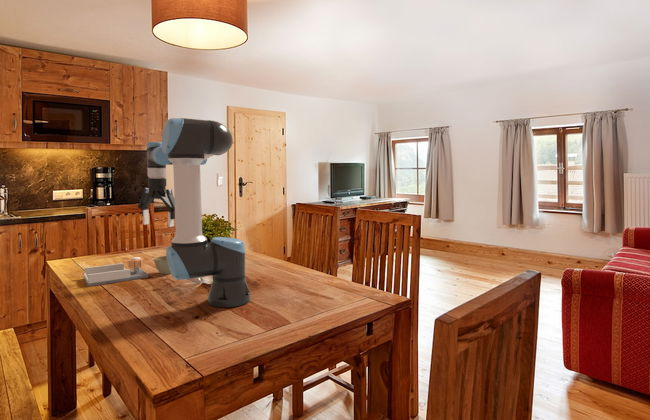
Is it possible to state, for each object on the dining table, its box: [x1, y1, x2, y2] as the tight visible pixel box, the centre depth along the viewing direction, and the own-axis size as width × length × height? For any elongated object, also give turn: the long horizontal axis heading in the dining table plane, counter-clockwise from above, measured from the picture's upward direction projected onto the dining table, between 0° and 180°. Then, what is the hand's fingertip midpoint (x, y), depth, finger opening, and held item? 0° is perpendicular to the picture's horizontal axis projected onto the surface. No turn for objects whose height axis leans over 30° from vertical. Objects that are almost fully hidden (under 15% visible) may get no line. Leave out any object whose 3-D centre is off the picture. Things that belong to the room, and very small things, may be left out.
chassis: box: [83, 262, 149, 287], centre depth 177 cm, size 14×23×5 cm, turn 127°
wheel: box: [127, 256, 145, 269], centre depth 181 cm, size 6×6×4 cm
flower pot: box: [153, 255, 171, 275], centre depth 185 cm, size 10×10×7 cm
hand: (158, 225), depth 181 cm, fingers open, 13 cm apart
